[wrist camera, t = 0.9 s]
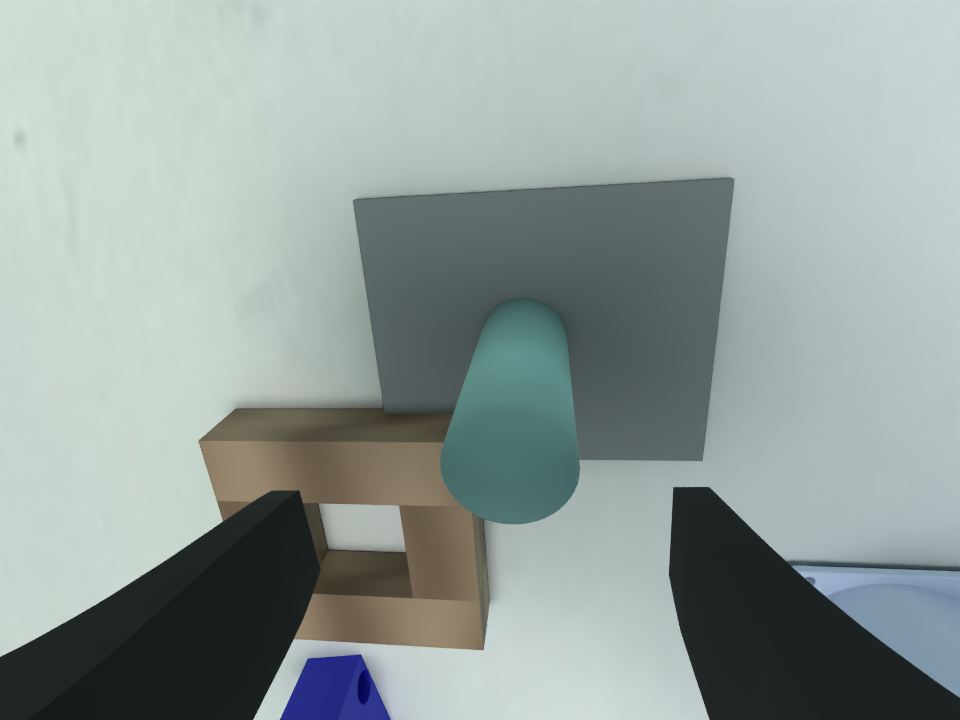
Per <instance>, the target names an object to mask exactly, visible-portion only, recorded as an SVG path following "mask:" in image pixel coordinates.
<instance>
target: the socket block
mask: <svg viewBox="0 0 960 720" xmlns="http://www.w3.org/2000/svg"><path fill="white" fill-rule="evenodd" d="M452 417H453V414H385V412H384V409H235V410H234V411H232V412H231V413H230V414H229V415H228V416H227V417H225V418H224V419H223V420H222V421H221V422H220V423H218V424H217V425H216V426H215V427H214V428H213V429H212V430H210V431H209V432H208V433H207V434H206V435H205V436H203V437H202V438H201V439H200V440H199V444H200V448H201V451H202V454H203V457H204V461H205V464H206V467H207V470H208V474H209V477H210V480H211V483H212V487H213V490H214V493H215V496H216V500H217V503H218V506H219V509H220V513H221V516H222V519H223V521H225V520H226V519H228V518H229V517H231V516H232V515H233V514H235V513H236V512H238V511H239V510H241V509H242V508H244V507H245V506H247V505H248V504H250V503H251V502H253V501H255V500H256V499H258V498H259V497H261V496H263V495H264V494H266V493H268V492H270V491H276V490H300V494H301V498H302V502H303V505H304V509H305V513H306V516H307V520H308V524H309V528H310V531H311V535H312V539H313V542H314V546H315V550H316V554H317V557H318V561H319V565H320V568H321V571H320V574H319V577H318V580H317V583H316V586H315V589H314V592H313V594H312V597H311V600H310V603H309V605H308V608H307V611H306V613H305V616H304V619H303V621H302V623H301V625H300V627H299V629H298V631H297V633H296V635H295V638H294V639H304V640H321V641H338V642H355V643H372V644H388V645H405V646H422V647H439V648H455V649H472V650H484V643H485V635H486V627H487V619H488V611H489V603H490V601H489V587H488V574H487V561H486V548H485V535H484V521H483V518H481V517H479V516H477V515H475V514H473V513H471V512H470V511H468V510H467V509H466V508H464V507H463V506H462V505H461V504H460V503H458V502H457V501H456V499H455V498H454V497H453V496H452V495H451V493H450V492H449V490H448V489H447V487H446V485H445V483H444V480H443V477H442V474H441V469H440V455H441V450H442V446H443V443H444V440H445V437H446V434H447V431H448V428H449V425H450V422H451V420H452ZM318 503H328V504H371V505H399V507H400V514H401V520H402V527H403V534H404V541H405V547H406V553H391V552H363V551H335V550H328V547H327V543H326V538H325V534H324V529H323V525H322V520H321V516H320V511H319V507H318Z"/></svg>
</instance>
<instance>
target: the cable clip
mask: <svg viewBox="0 0 960 720" xmlns="http://www.w3.org/2000/svg"><path fill="white" fill-rule="evenodd" d="M280 720H391V719H390V717H389V715H388V713H387V711H386V708H385V706H384V704H383V702H382V700H381V697H380V695H379V693H378V691H377V689H376V686H375V684H374V682H373V680H372V678H371V675H370V673H369V671H368V669H367V667H366V664H365V662H364V660H363V658H362V656H361V655H350V656H337V657H324V658H311V659H308V660H307V662H306V664H305V666H304V668H303V671H302V673H301V675H300V677H299V679H298V682H297V684H296V686H295V688H294V690H293V693H292V695H291V697H290V699H289V701H288V703H287V706H286V708H285V710H284V712H283V714H282V717H281V719H280Z"/></svg>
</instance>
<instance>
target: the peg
mask: <svg viewBox="0 0 960 720" xmlns="http://www.w3.org/2000/svg"><path fill="white" fill-rule="evenodd" d="M440 469H441V474H442V477H443V480H444V483H445V485H446V487H447V489H448V490H449V492H450V493H451V495H452V496H453V497H454V498H455V499H456V501H457V502H458V503H460V504H461V505H462V506H463V507H464V508H466V509H467V510H468V511H470V512H471V513H473V514H475V515H477V516H479V517H481V518H484V519H486V520H490V521H493V522H497V523H503V524H524V523H530V522H534V521H538V520H541V519H543V518H546V517H548V516H550V515H552V514H553V513H555V512H556V511H558V510H559V509H560V508H561V507H562V506H563V505H565V503H566V502H567V501H568V500H569V499H570V497H571V496H572V494H573V492H574V491H575V488H576V486H577V483H578V479H579V472H580V465H579V454H578V444H577V434H576V424H575V414H574V404H573V394H572V384H571V374H570V364H569V354H568V344H567V334H566V329H565V325H564V323H563V321H562V319H561V317H560V316H559V314H558V313H557V312H556V311H555V310H554V309H553V308H552V307H551V306H549V305H548V304H546V303H544V302H542V301H540V300H537V299H533V298H515V299H511V300H508V301H505V302H503V303H502V304H500V305H499V306H497V307H496V308H495V309H494V310H493V311H492V312H491V313H490V314H489V315H488V317H487V319H486V321H485V323H484V325H483V328H482V331H481V334H480V337H479V340H478V343H477V346H476V349H475V352H474V355H473V358H472V361H471V364H470V367H469V370H468V373H467V375H466V378H465V381H464V384H463V387H462V390H461V393H460V396H459V399H458V402H457V405H456V408H455V411H454V414H453V417H452V420H451V422H450V425H449V428H448V431H447V434H446V437H445V440H444V443H443V446H442V450H441V455H440Z"/></svg>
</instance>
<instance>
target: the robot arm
mask: <svg viewBox="0 0 960 720" xmlns="http://www.w3.org/2000/svg"><path fill="white" fill-rule="evenodd" d="M320 571H321V568H320V565H319V561H318V557H317V554H316V550H315V546H314V542H313V539H312V535H311V531H310V528H309V524H308V520H307V516H306V513H305V509H304V505H303V502H302V498H301V494H300V490H276V491H270V492H268V493H266V494H264V495H263V496H261V497H259V498H258V499H256V500H255V501H253V502H251V503H250V504H248V505H247V506H245V507H244V508H242V509H241V510H239V511H238V512H236V513H235V514H233V515H232V516H231V517H229V518H228V519H226V520H225V521H223V522H222V523H220V524H219V525H217V526H216V527H214V528H213V529H212V530H210V531H209V532H207V533H206V534H204V535H203V536H201V537H200V538H198V539H197V540H195V541H194V542H192V543H191V544H190V545H188V546H187V547H185V548H184V549H182V550H181V551H179V552H178V553H176V554H175V555H173V556H172V557H170V558H169V559H167V560H166V561H164V562H163V563H161V564H160V565H158V566H157V567H155V568H153V569H152V570H150V571H149V572H147V573H146V574H144V575H142V576H141V577H139V578H138V579H136V580H135V581H133V582H132V583H130V584H128V585H127V586H125V587H124V588H122V589H121V590H119V591H117V592H116V593H114V594H113V595H111V596H110V597H108V598H106V599H105V600H103V601H101V602H100V603H98V604H96V605H95V606H93V607H91V608H90V609H88V610H86V611H84V612H83V613H81V614H79V615H78V616H76V617H74V618H72V619H71V620H69V621H67V622H65V623H63V624H62V625H60V626H58V627H56V628H54V629H53V630H51V631H49V632H47V633H45V634H44V635H42V636H40V637H38V638H36V639H34V640H33V641H31V642H29V643H27V644H25V645H23V646H21V647H19V648H17V649H15V650H13V651H11V652H9V653H7V654H5V655H3V656H1V657H0V720H253V719H254V717H255V715H256V713H257V711H258V709H259V707H260V705H261V703H262V701H263V699H264V697H265V695H266V693H267V691H268V689H269V687H270V685H271V683H272V681H273V679H274V677H275V675H276V673H277V672H278V670H279V668H280V666H281V664H282V662H283V660H284V658H285V656H286V654H287V652H288V650H289V648H290V646H291V644H292V642H293V640H294V638H295V635H296V633H297V631H298V629H299V627H300V625H301V623H302V621H303V619H304V616H305V613H306V611H307V608H308V605H309V603H310V600H311V597H312V594H313V592H314V589H315V586H316V583H317V580H318V577H319V574H320ZM807 577H810V578H808V579H805V578H807ZM669 578H670V583H671V587H672V592H673V597H674V602H675V607H676V612H677V616H678V621H679V626H680V630H681V633H682V637H683V640H684V643H685V646H686V649H687V652H688V655H689V658H690V661H691V665H692V668H693V671H694V674H695V677H696V680H697V683H698V686H699V689H700V692H701V695H702V698H703V701H704V704H705V707H706V710H707V713H708V716H709V719H710V720H960V571H933V570H905V569H877V568H849V567H820V566H791V565H790V564H788V563H787V562H786V561H785V560H784V559H783V558H782V557H781V556H780V555H779V554H778V553H776V552H775V551H774V550H773V549H772V548H771V547H770V546H769V545H768V544H767V543H766V542H765V541H764V540H763V539H762V538H761V537H760V536H759V535H758V534H756V533H755V532H754V531H753V530H752V529H751V528H750V527H749V526H748V525H747V524H746V523H745V522H744V521H743V520H742V519H741V518H740V517H739V516H738V515H737V514H736V513H735V512H734V511H733V510H732V509H731V508H730V507H729V506H728V505H727V504H726V503H725V502H724V501H723V500H722V499H721V498H720V497H719V496H718V495H717V494H716V493H715V492H714V491H713V490H712V489H711V488H709V487H673V507H672V526H671V545H670V565H669Z"/></svg>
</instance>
